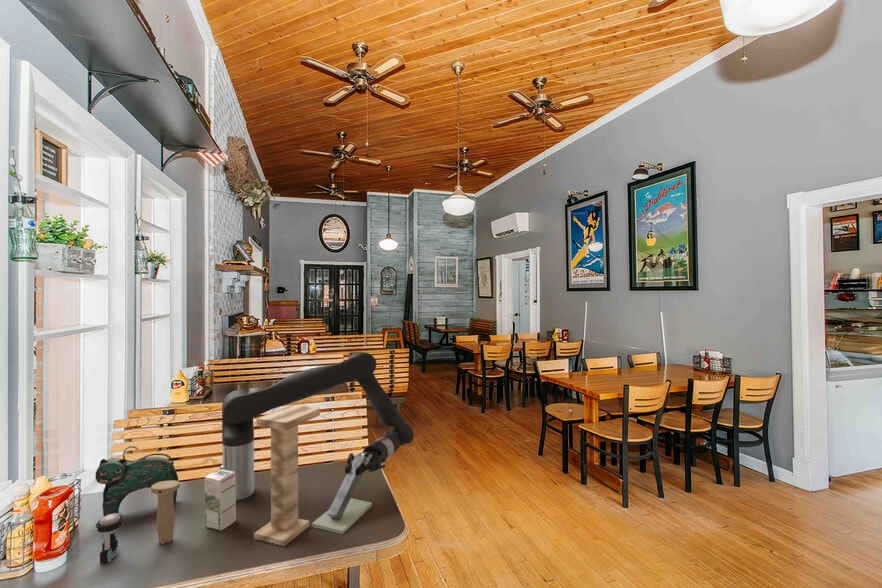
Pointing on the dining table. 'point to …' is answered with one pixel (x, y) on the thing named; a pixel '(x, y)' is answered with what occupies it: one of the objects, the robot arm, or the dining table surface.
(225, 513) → the syrup box
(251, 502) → the dining table surface
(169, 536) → the handle
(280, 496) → the stand
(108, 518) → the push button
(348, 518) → the mat
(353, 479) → the long grey plank
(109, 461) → the ceramic cat
